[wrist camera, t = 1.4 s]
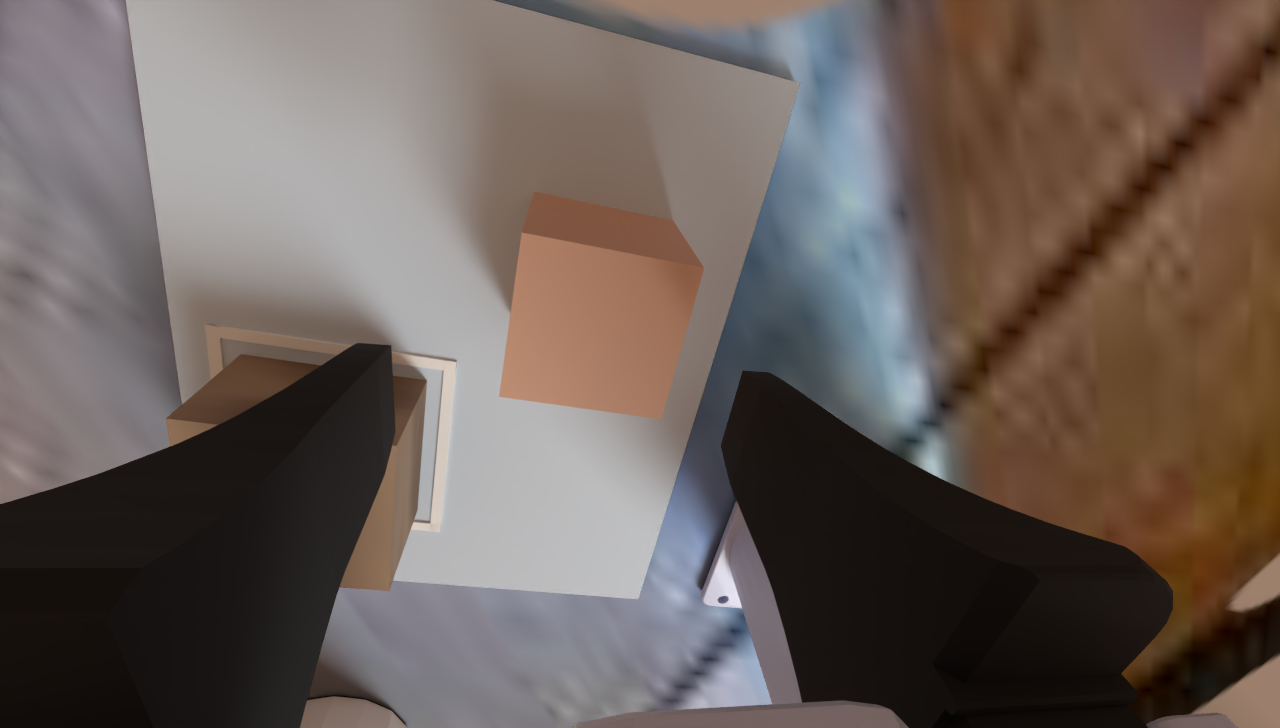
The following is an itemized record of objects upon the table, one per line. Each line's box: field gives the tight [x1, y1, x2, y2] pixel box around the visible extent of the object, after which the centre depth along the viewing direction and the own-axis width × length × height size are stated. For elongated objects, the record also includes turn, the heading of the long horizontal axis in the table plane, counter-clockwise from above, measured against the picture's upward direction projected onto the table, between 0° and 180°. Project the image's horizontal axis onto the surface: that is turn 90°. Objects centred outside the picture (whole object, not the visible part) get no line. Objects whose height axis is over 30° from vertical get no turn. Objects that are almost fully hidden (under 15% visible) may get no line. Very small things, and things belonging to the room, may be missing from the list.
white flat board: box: [126, 0, 800, 599], centre depth 20 cm, size 18×22×1 cm
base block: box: [166, 354, 427, 591], centre depth 19 cm, size 6×6×4 cm
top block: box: [499, 192, 704, 419], centre depth 17 cm, size 4×4×5 cm
